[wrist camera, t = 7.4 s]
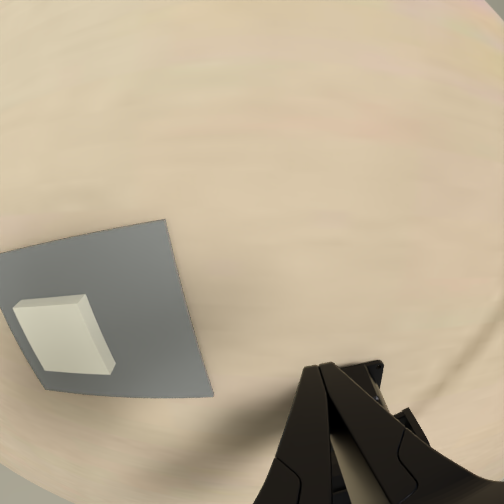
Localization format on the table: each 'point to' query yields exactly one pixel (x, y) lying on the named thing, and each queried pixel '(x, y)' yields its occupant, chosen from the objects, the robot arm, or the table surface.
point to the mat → (114, 310)
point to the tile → (65, 334)
